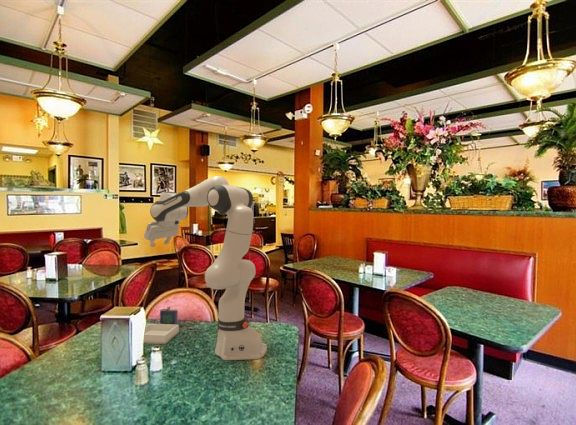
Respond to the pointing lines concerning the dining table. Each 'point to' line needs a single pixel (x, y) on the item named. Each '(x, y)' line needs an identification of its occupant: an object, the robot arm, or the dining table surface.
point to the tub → (160, 333)
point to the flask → (168, 316)
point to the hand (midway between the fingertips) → (159, 245)
